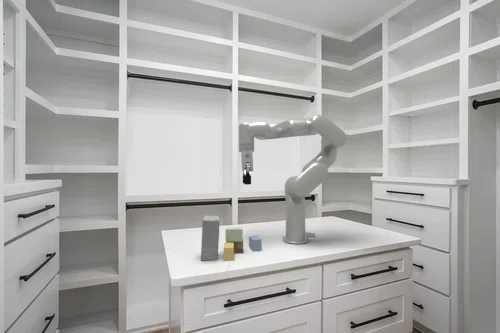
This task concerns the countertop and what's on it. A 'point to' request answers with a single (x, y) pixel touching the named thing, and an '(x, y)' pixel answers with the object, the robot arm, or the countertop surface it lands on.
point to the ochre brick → (228, 251)
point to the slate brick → (255, 243)
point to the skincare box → (210, 238)
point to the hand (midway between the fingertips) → (246, 183)
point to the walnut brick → (237, 247)
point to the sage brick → (234, 234)
